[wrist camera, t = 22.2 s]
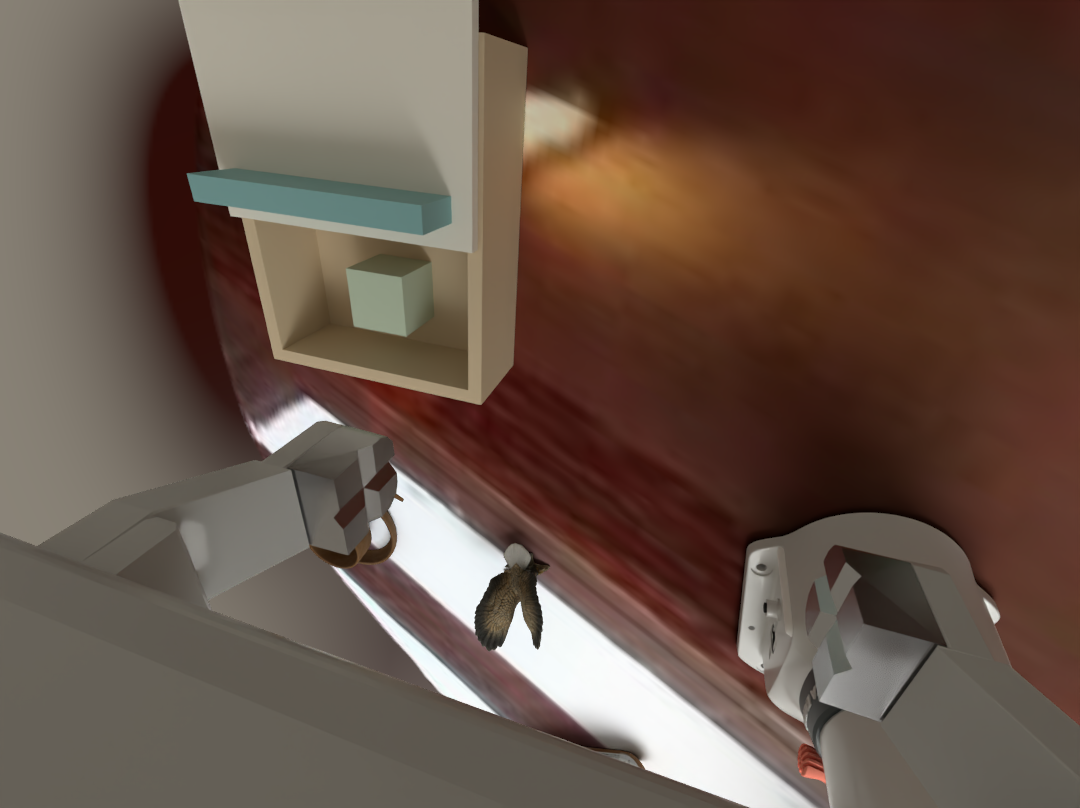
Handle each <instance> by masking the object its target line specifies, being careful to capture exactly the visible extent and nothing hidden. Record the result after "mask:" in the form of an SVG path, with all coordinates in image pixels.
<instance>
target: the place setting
mask: <svg viewBox="0 0 1080 808" xmlns="http://www.w3.org/2000/svg"><path fill="white" fill-rule="evenodd" d="M394 498H396V499H398V500H400V501H402V502H403V500H404V499H403V498H401V497H400V496H399V495H397V494H396V495H395V497H394ZM381 518H382V519H383V521H384V522H385V524H386V525H387V527H388V530H389V532H390V535H391V538H390V541H389V543H388V544H387V545H386V546H385V547H383V548H381V549H378V550H368V548H369V547H370V544H371V539H372V538H371V531H370V528H369V532H368V533H367V535H366V536H365V537H364V538H363V539H362V540H361V541H360V543H359V544H358V545H357V546H356V547H355V548H354V549H353V550H352V552H351V553H350V554H349V555H345V554H341V553H337V552H334V551H330V550H327V549H323V548H319V547H316V546H312V545H309V546H310V549H311V550H312V551H313V552H314V553H315V554H316V555H317V556H318V557H319V558H320V559H322V560H323V561H325V562H326V563H328V564H330V565H332V566H335V567H338V568H352V567H354V566H355V565H356V564H357V563H360V564H367V565H374V564H379V563H382V562H384V561H386V560H387V559H388V558H389V557H390V556H391V554H392V553H393V551H394V549H395V547H396V542H397V533H396V528H395V525H394V522H393V520H392V518H391V516H390V515H389V513H388V512H387V511H386V513H385V514H384V515H383V516H382V517H381Z"/></svg>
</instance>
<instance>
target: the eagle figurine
mask: <svg viewBox="0 0 1080 808" xmlns="http://www.w3.org/2000/svg"><path fill="white" fill-rule="evenodd" d="M504 558H505V560H506V562H507V563H508V564H507V565H506V566H505V567H507V568H510V569H511V570H505V571H504V573H501V574H498V575H497V576H495V577H494V578H492V579H491V580H490V583H489V587H488V588H487V591H486V592H485V593H484V596H483V598H482V600H481V601H480V604H479V605H478V606H477V608H476V611H475V614H476V616H475V622H474V623H475V629H476V632H475V635H476V636H478V640H479V641H480V642H481V644H482V646H483V647H484V646H486V649H487V650H488V651H491V650H492V649H493V650H495V649H496V648H497V646H499V647H501V646H502V645H503V643H504V641H505V638H506V635H507V633H508V629H509V627H510V624H511V622H512V619H513V615H514V611H515V608H516V606H517V604H518V603H519V602H520V601H521V606H522V612H523V617H524V620H525V622H526V624H527V626H528V628H529V630H530V631H531V634H532V639H533V645H534V646H535V648H537V649H539V647H540V641H541V632H542V631H543V630H542V625H543V617H542V610H541V605H540V604H539V600H538V596H537V591H536V587H535V586H536V585H537V583H536V582H537V579H536V576H537V575H539V574H541V573H543V572H544V571H547V570H548V568H550V566H548V565H539V564H535V563H534V560H533V553H531V554H529V552H528V551H527V550H526V549H525V548H524V546H522V545H520V544H517V543H514V544H511V545H510V546H509V547H508V548H507V549H506V550H505V553H504Z"/></svg>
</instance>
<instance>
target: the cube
mask: <svg viewBox="0 0 1080 808" xmlns="http://www.w3.org/2000/svg"><path fill="white" fill-rule="evenodd" d="M346 274H347V281H348V288H349V295H350V302H351V310H352V317H353V324H354V327H359V328H364V329H369V330H375V331H380V332H385V333H390V334H395V335H400V336H406V337H407V336H408V335H409V334H411V333H412V332H414V331H415V330H416V329H418V328H419V327H420V326H422V325H423V324H425V323H426V322H427V321H429V320H430V319H432V318H433V317H434V299H433V279H432V262H430V261H424V260H417V259H411V258H404V257H398V256H391V255H385V254H379V255H376V256H374V257H372V258H369V259H367V260H364V261H362V262H360V263H357V264H355V265H352V266H350V267H348V268H346Z"/></svg>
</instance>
